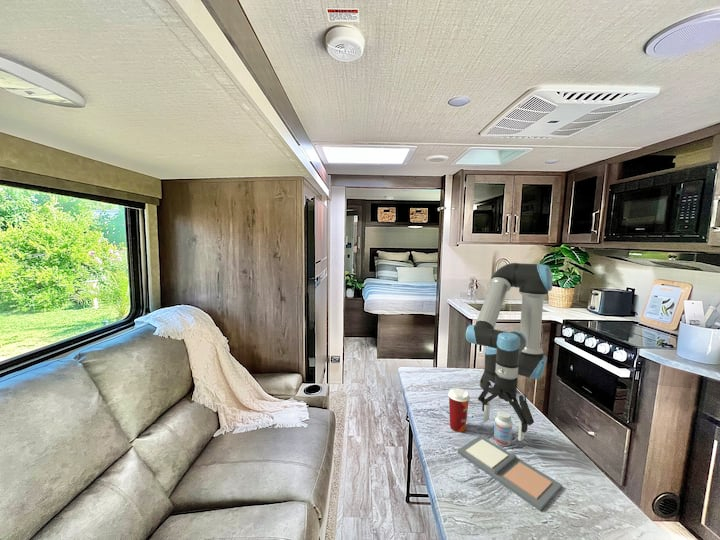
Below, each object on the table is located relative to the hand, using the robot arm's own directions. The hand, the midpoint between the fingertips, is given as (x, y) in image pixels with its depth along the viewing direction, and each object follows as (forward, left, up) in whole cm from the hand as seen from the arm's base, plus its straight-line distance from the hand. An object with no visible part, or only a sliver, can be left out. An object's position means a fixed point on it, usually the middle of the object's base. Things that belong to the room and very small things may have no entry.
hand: (502, 429), depth 112 cm
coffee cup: (+7, -15, -5) cm, 17 cm away
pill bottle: (0, 0, -5) cm, 5 cm away
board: (+12, +8, -5) cm, 15 cm away
